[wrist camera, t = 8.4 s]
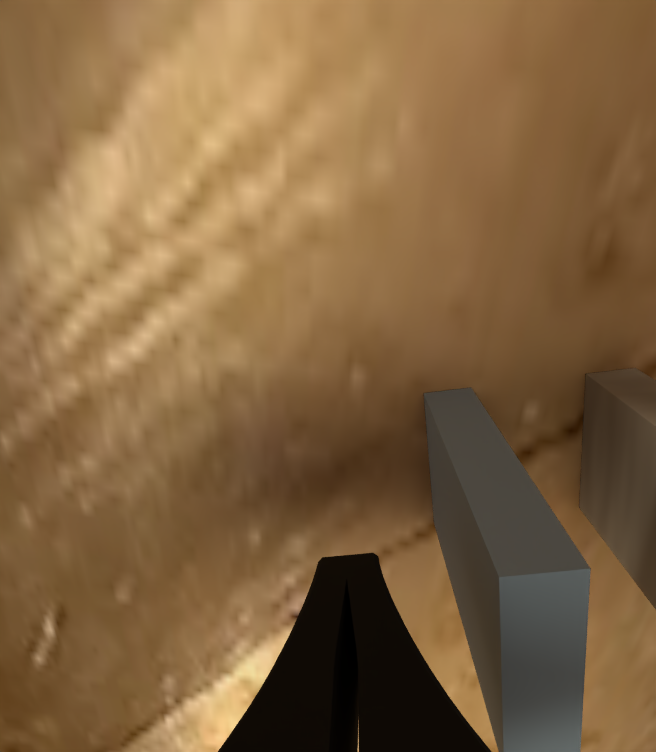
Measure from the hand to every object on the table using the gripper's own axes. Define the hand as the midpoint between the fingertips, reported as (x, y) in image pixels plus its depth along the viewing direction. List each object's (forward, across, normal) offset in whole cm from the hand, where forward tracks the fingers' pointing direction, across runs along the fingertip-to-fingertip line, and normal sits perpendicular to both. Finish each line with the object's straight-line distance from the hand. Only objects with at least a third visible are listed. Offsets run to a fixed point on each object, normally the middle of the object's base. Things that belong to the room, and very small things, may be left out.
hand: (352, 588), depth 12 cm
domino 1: (+5, -4, 0) cm, 6 cm away
